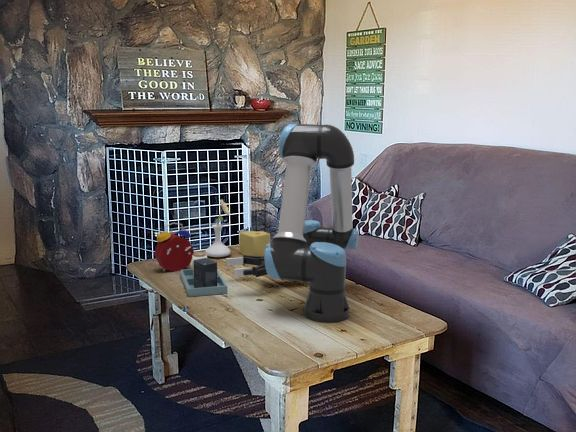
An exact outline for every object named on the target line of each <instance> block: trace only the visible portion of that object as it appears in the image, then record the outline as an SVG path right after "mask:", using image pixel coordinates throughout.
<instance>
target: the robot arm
mask: <svg viewBox="0 0 576 432" xmlns="http://www.w3.org/2000/svg"><path fill="white" fill-rule="evenodd" d="M280 133H281V134H280V137H279V142H278V146H279V147H278V153H279V156H280V157H282V162H283V163H284V164H285V165H286V168H285V175H284V185H283V190H282V199H281V205H280V206H281V207H280V214H279V220H278V221H279V223H278V230H277V233H276V234H275V235H274V236H273V237H272V240H271V242H270V243H269V244H267V245H266V249H265V256H247V255H243V256H241V257H231V258H229V257H228V258H225V266H226V267H228V266H245V265H249V266H250V265H252V267H241V268H233V277H234V278H235V277H237V278H238V277H246V276H247V277H248V276H253V277H255V278H259V277H263V276H267V275H268V277H269V278H271V279H274V280H280V281H292V282H302V283H303V282H304V283H309V291H308V294H307V297H306V300H305V302H304V305H303V315H304V316H305V317H306V318H308V319H310V320H312V321H315V322H316V321H317V322H321V323H322V322H323V323H337V322H341V321H345V320H346V319H348V318H349V316H350V311H351V309H350V303H349V301H348V297H347V294H346V274H347V273H346V272H347V271H346V270H347V253H346V251H345V250H356V249H357V247H358V245H359V238H360V237H359V236H360V233H359V229H354V228H353V224H354V223H353V195H352V194H353V187H352V186H353V184H352V167H353V166H354V165H355V154H354V153H355V152H354V149H353V146H352V144H351V142H350V140H349V138H348V137H347V136H346V134H345V133H344V132H343V131H341V129H340V128H338V127H336V126H334V125H331V124H311V123H310V124H308V123H290V124H289V123H288V124H287V125H285V127H284V128H283V129H282V131H281V132H280ZM317 160H326V161H325V163H326V166H327V167H328V168H329V184H330V185H329V186H330V187H329V188H330V207H331V209H330V210H331V227H325V226H321V222H320V221H319V220H314V219H312V220H311V219H308V220H306V216H307V209H308V208H307V207H308V199H309V192H310V191H309V190H310V184H311V183H310V181H311V174H312V169H313V168H314V167H315V166H317V163H318V162H317Z"/></svg>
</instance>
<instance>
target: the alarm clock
mask: <svg viewBox="0 0 576 432" xmlns="http://www.w3.org/2000/svg"><path fill="white" fill-rule="evenodd" d="M174 224H175V225H179V226H181V229H179V230H178V231H176V234H173V230H171V229H170V231H169V232H168V231H166V227H168V226H172V225H174ZM183 227H184V226H183V223H178V222H171V223H169V224H166V225H165V226H164V227H163V228H164V229H163V230H164V231H160V233H159V234H157V237H156V242H157V244H156V247H155V250H154V253H153V255H154V256H155V259H156V261H157V262H158V264H159V266H160V267H161V268H163V269H162V272H166V270H167V271H170V272H181V271H180V270H183V269H186V268H187V269H188V267H189V266H191V262H192V255H193V253H195V251H194V248H193V246H192V244H191V242H190V240H189V239H188V238H190V239H191V233H190V232H188V230H187V229H186V228H183ZM177 234H178V235H177Z"/></svg>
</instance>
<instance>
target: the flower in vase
mask: <svg viewBox="0 0 576 432" xmlns="http://www.w3.org/2000/svg"><path fill="white" fill-rule="evenodd" d="M219 202H220V206H221V210H220V212H219V215H218V217H217V218H215V220H214V222H215V223H217V224H212V225H211V227H212V228H213V230H214V237H215V239H214V242H213V243H212V244H210V246H208V247H207V249H206V250H205V251H204V252H205V253H206V254H207V257H211V258H224V257H228V256H230V255H231V253H232V251H231V249H230V248H229V247H228V246H226V245H225V244H224V243H223V242H222V240H221V232H222V229H223V227H224V224H220V223H219V222H223V221H224V217H223V216H222V215H221V213H222V211H223V212H224V214H225V215H227V216H230V214H231V212H230V210H229V207H228V206H227V203H226V202H224V199H220V200H219Z"/></svg>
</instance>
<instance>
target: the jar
mask: <svg viewBox="0 0 576 432" xmlns="http://www.w3.org/2000/svg"><path fill="white" fill-rule="evenodd" d="M202 258H208V255H207V254H206V253H205V251H194V253H193V255H192V260H191V262H193V260H196V259H202ZM192 269H193V278H194V266H193V265H192Z"/></svg>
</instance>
